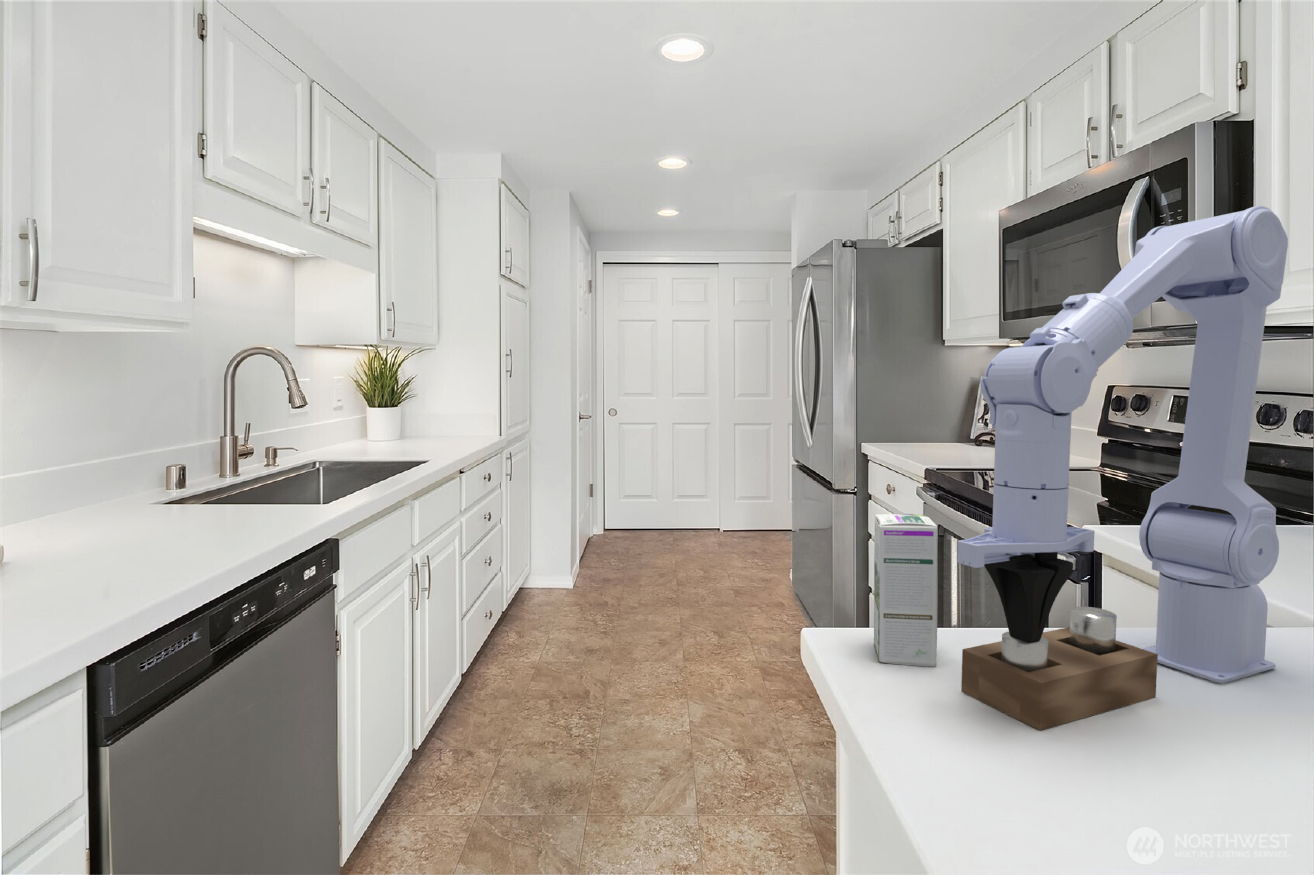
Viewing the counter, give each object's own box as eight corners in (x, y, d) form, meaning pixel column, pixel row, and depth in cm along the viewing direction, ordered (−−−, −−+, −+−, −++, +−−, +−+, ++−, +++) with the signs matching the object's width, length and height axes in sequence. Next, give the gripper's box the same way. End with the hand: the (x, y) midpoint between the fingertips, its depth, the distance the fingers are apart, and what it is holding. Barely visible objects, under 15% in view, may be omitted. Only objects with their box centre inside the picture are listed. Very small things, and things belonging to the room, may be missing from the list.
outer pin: (1019, 669, 64) (1021, 628, 63) (1056, 684, 60) (1057, 642, 60) (991, 676, 62) (992, 634, 62) (1027, 692, 59) (1028, 648, 59)
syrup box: (938, 668, 69) (942, 524, 68) (876, 663, 71) (879, 522, 70) (927, 647, 75) (931, 514, 74) (870, 643, 76) (873, 512, 75)
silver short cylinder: (1086, 643, 67) (1087, 604, 67) (1123, 656, 64) (1125, 615, 64) (1060, 648, 66) (1062, 609, 66) (1097, 662, 63) (1099, 621, 62)
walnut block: (1071, 665, 70) (1073, 626, 70) (1155, 697, 63) (1157, 654, 62) (961, 691, 64) (962, 649, 64) (1039, 730, 57) (1041, 682, 56)
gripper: (1046, 475, 67) (1040, 614, 68) (931, 484, 61) (927, 635, 62) (1120, 484, 60) (1113, 638, 61) (1000, 495, 54) (994, 664, 55)
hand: (1024, 638), depth 61 cm, fingers closed, pressing on outer pin
